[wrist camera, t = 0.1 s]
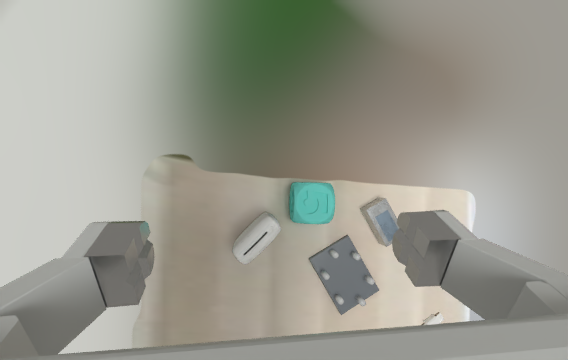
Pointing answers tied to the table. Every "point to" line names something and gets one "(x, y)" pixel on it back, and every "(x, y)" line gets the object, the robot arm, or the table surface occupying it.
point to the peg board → (344, 274)
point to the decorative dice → (311, 203)
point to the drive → (381, 220)
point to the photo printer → (256, 238)
